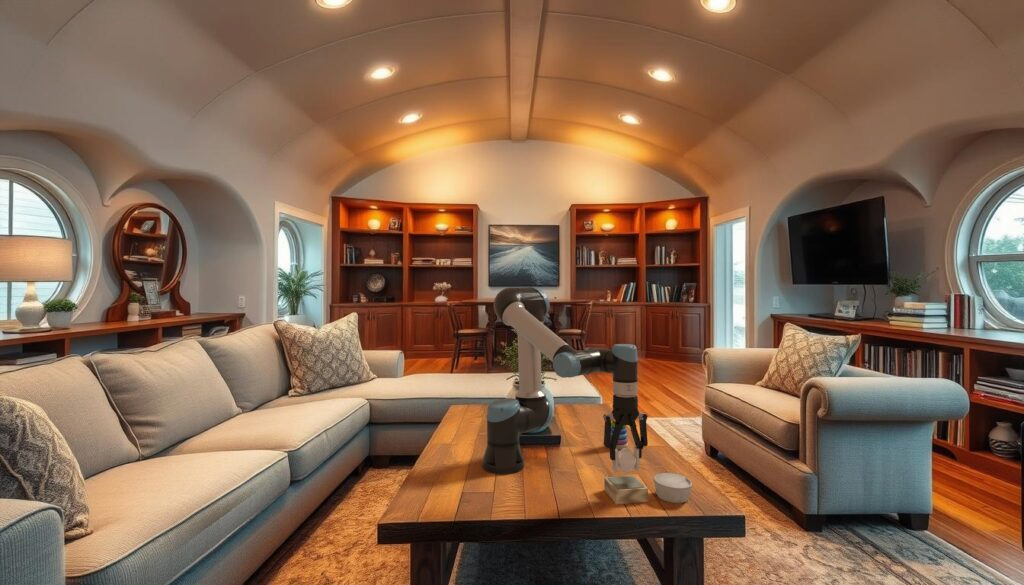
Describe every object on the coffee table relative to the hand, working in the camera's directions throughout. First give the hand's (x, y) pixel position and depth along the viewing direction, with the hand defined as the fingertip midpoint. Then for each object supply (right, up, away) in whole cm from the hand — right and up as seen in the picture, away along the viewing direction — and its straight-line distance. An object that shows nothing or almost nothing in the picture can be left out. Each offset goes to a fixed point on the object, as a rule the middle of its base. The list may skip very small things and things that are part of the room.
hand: (625, 469), depth 143 cm
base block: (0, -8, 0) cm, 8 cm away
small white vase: (0, -1, 0) cm, 1 cm away
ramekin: (+14, -8, -1) cm, 17 cm away
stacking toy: (+8, -8, +45) cm, 46 cm away
